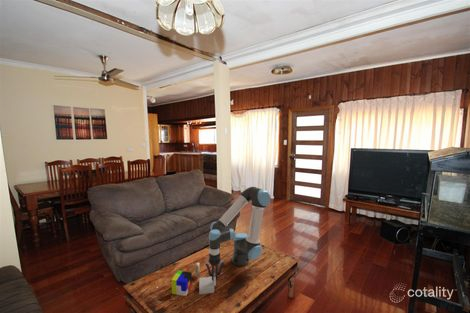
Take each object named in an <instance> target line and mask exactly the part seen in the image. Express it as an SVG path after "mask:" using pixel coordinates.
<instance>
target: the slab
mask: <svg viewBox="0 0 470 313" xmlns="http://www.w3.org/2000/svg"><path fill="white" fill-rule="evenodd" d="M198 285H199V286H198V294H199V295H206V294H213V293H214V294H215V286H214V281H212V276H207V277H205V276H204V277H199V278H198Z"/></svg>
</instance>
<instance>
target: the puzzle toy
mask: <svg viewBox="0 0 470 313" xmlns="http://www.w3.org/2000/svg"><path fill="white" fill-rule="evenodd" d="M192 274H193V272H191V271H184V270H178V271H177V272H176V273H175V275H174V276H173V277H172V279H171V294H173V295H179V296H181V297H182V296H183V297H187V295H188V293H189V292H190V290H191V288H192V286H193V275H192Z"/></svg>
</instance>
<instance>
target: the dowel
mask: <svg viewBox="0 0 470 313" xmlns="http://www.w3.org/2000/svg"><path fill="white" fill-rule="evenodd" d="M200 268H201V267H200V262H195V263H194V278H195V279H199V278H201V277H200V275H201V274H200Z"/></svg>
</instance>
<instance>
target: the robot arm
mask: <svg viewBox="0 0 470 313" xmlns="http://www.w3.org/2000/svg"><path fill="white" fill-rule="evenodd" d="M249 202H251V204H250V205H251V207H252V211H251V216H250V222H249V223H250V224H249V228H248V234H247V233H245V232H239V233H236V232H235V230H234V228H226V227H227V226H228V225H229V224H230V223H231V221H232V220H233V219H234V218H235V217H236V215H237V214H239V212H240V211H241V210H242V209H243V208H244V207H245V206H246V204H249ZM270 202H271V195H270V192H269V191H268V190H265V189H263V188H259V187H256V186H250V187H248V188H245V189H243V191H241V193H239V195H238V198H237V199H236V200H235V201H234V202H233V204H232V205H231V206H230V207H229V208H228V209H227V210H226V211H225V213H223V215H222V216H221V217H220V218H219V219H218V220H217V221H214V222H213V221H212V222H211V224H210V227H209V228H210V231H209V234H208V246H209V248H208V256H209V257H208V261H205V266H206V269H207V272H208V277H212V281H214V287H216V285H217V281H218V276H220V275H221V272H222V269H223V266H224V264H225V262H224V260H221V259H222V258H221V244H223V243H225V242H228V241H232V240H233V253H232V256H231V263H232V264H233V265H235V266H238V267H244V266H247V265H248V264H249V263H250V259H251V260H253V261H254V260H257V259H258V258H259V257H261V254H262V253H263V248H262V246H261V240H260V234H261V228H262V222H263V215H264V210H265V209H266V208H267V206H269V205H270ZM210 266H211V269H210ZM218 266H219V267H218ZM214 267H215V268H214ZM214 270H215V271H214ZM214 272H215V273H214Z"/></svg>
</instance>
